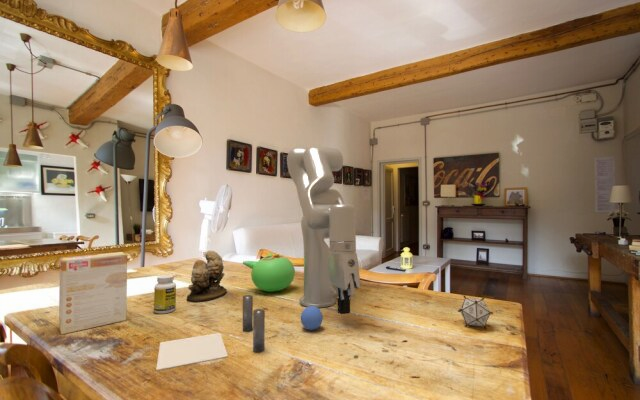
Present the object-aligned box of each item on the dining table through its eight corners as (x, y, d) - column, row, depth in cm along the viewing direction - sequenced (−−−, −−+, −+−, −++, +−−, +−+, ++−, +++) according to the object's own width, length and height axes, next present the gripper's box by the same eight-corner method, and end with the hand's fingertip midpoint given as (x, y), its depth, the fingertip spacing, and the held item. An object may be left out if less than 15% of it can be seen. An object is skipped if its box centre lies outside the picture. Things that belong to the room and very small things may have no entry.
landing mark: (220, 333, 81) (220, 332, 81) (227, 356, 68) (227, 355, 68) (160, 343, 75) (160, 342, 75) (156, 370, 63) (156, 369, 63)
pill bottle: (166, 315, 95) (167, 278, 96) (149, 313, 97) (149, 278, 97) (179, 308, 101) (180, 274, 102) (163, 307, 103) (163, 273, 103)
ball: (317, 323, 88) (317, 302, 88) (326, 331, 83) (326, 308, 83) (297, 326, 86) (297, 304, 86) (305, 334, 80) (305, 311, 80)
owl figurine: (208, 288, 127) (209, 247, 127) (234, 291, 124) (235, 248, 124) (178, 301, 109) (179, 252, 110) (207, 304, 106) (208, 254, 107)
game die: (478, 338, 87) (497, 308, 88) (483, 338, 80) (503, 305, 81) (449, 317, 91) (467, 289, 93) (450, 315, 84) (470, 285, 85)
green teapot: (273, 299, 112) (273, 258, 112) (240, 292, 121) (240, 254, 121) (302, 288, 127) (302, 252, 127) (271, 283, 136) (271, 249, 136)
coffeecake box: (121, 314, 96) (122, 251, 96) (127, 320, 91) (128, 253, 91) (57, 327, 85) (59, 256, 86) (60, 335, 80) (62, 259, 81)
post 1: (251, 327, 85) (251, 294, 86) (253, 330, 83) (253, 296, 83) (241, 328, 84) (242, 295, 84) (243, 332, 82) (243, 298, 82)
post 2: (263, 346, 73) (263, 308, 74) (265, 351, 71) (265, 311, 71) (252, 348, 72) (252, 309, 73) (254, 353, 70) (254, 313, 70)
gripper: (368, 248, 83) (370, 318, 82) (341, 244, 97) (343, 304, 96) (343, 250, 80) (345, 322, 79) (319, 246, 94) (320, 308, 92)
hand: (343, 312), depth 87 cm, fingers closed
